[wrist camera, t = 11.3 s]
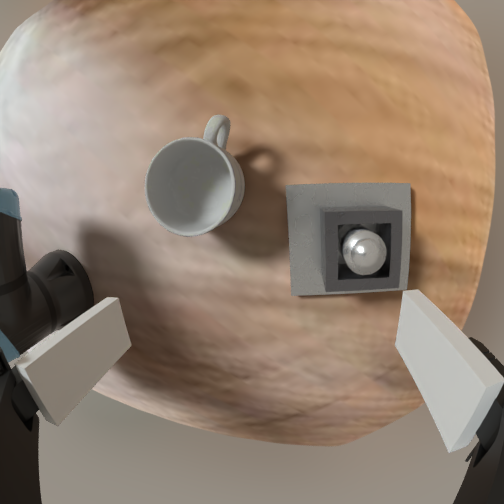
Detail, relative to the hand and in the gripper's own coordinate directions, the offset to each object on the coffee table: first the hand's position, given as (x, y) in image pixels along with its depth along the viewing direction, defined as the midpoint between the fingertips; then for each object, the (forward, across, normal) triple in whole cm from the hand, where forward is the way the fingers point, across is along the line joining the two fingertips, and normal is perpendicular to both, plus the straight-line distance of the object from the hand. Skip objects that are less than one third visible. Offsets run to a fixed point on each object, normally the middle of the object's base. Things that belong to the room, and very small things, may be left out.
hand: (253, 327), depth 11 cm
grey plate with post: (+24, +9, -1) cm, 26 cm away
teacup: (+25, -8, +8) cm, 27 cm away
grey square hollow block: (+23, +10, -1) cm, 25 cm away
